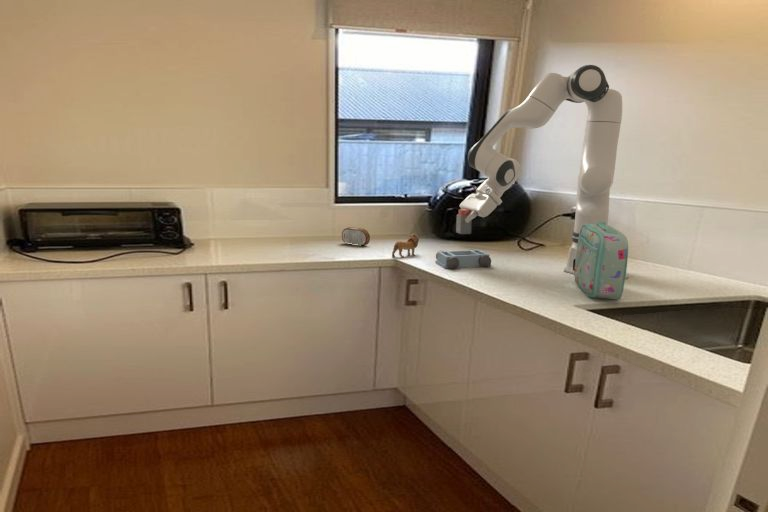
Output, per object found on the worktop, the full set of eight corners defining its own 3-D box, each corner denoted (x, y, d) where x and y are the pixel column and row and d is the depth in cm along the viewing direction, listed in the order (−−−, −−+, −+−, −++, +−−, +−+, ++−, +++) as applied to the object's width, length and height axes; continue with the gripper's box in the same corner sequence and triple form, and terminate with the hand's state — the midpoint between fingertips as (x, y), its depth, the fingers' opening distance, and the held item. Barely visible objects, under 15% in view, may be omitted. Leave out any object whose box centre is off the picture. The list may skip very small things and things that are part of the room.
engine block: (471, 233, 182) (472, 210, 180) (460, 234, 181) (461, 210, 179) (466, 231, 186) (467, 208, 185) (456, 232, 186) (456, 209, 184)
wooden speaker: (370, 246, 224) (370, 228, 222) (366, 247, 221) (366, 229, 220) (344, 243, 232) (344, 226, 230) (340, 244, 229) (340, 227, 227)
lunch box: (569, 279, 163) (574, 217, 159) (600, 281, 162) (606, 218, 157) (588, 303, 137) (595, 230, 133) (626, 305, 136) (635, 230, 131)
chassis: (492, 266, 182) (493, 255, 181) (446, 269, 178) (446, 257, 177) (477, 259, 195) (478, 248, 194) (433, 261, 191) (434, 250, 190)
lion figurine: (412, 252, 209) (413, 232, 207) (421, 254, 205) (421, 234, 203) (388, 257, 199) (388, 236, 197) (396, 259, 195) (396, 237, 194)
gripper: (471, 186, 192) (447, 211, 192) (493, 190, 172) (467, 218, 172) (480, 197, 194) (457, 222, 194) (504, 202, 174) (478, 230, 174)
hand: (462, 220), depth 183 cm, fingers closed on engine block, 4 cm apart
